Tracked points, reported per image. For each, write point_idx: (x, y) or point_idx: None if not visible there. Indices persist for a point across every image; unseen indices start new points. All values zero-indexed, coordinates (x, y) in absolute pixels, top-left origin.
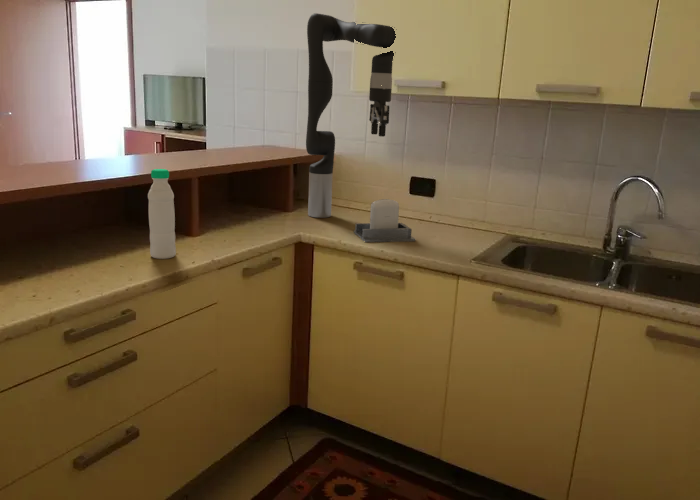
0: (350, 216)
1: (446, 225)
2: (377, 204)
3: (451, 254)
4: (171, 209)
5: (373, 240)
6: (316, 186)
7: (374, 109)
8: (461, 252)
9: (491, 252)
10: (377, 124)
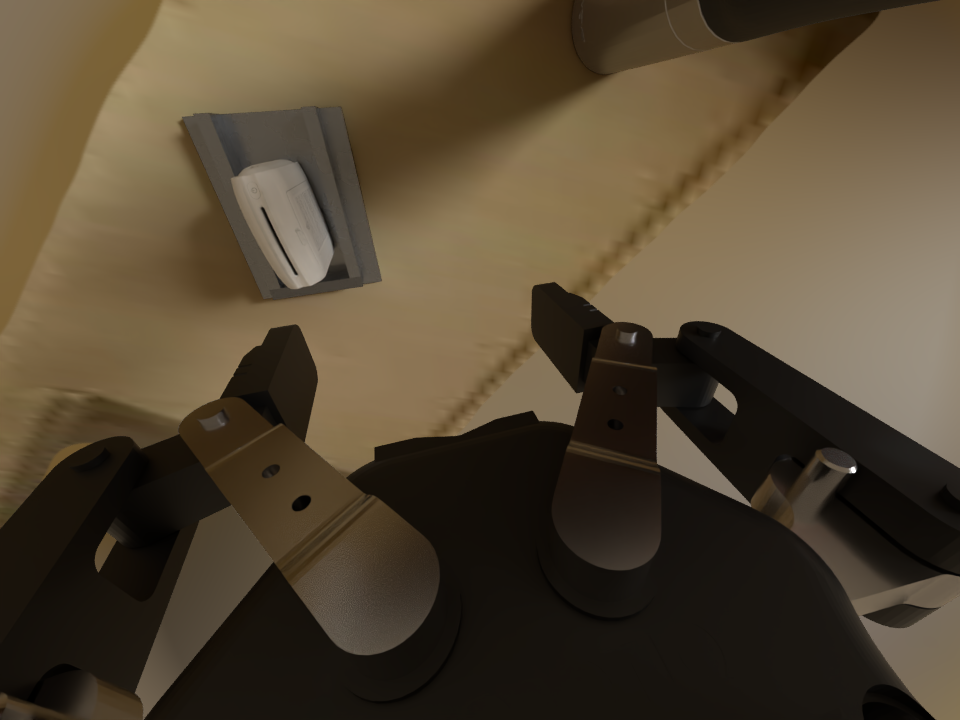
0: (582, 156)
1: (463, 395)
2: (236, 193)
3: (133, 360)
4: None
5: (200, 154)
6: None
7: (547, 527)
8: (171, 385)
9: None
10: (572, 383)
